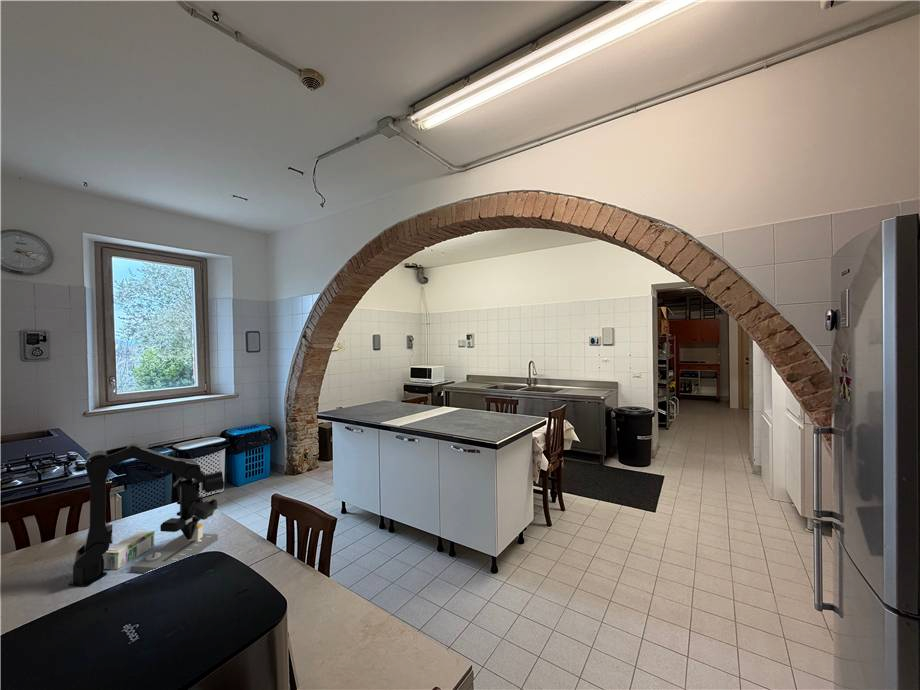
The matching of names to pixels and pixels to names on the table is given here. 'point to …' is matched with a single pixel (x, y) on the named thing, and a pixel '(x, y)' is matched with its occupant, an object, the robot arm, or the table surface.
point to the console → (173, 552)
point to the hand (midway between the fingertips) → (189, 539)
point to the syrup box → (128, 549)
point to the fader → (198, 532)
